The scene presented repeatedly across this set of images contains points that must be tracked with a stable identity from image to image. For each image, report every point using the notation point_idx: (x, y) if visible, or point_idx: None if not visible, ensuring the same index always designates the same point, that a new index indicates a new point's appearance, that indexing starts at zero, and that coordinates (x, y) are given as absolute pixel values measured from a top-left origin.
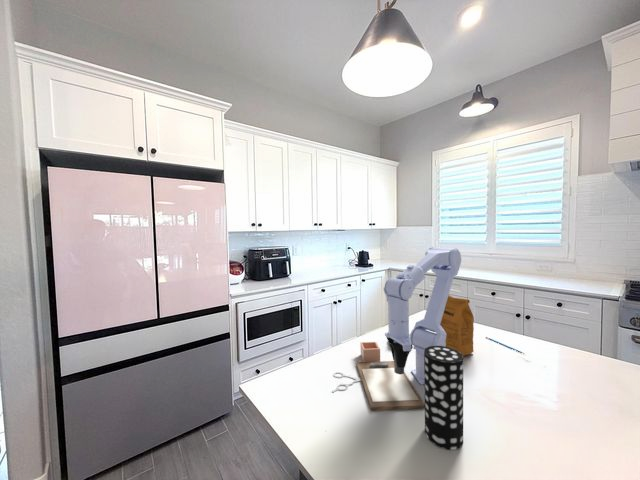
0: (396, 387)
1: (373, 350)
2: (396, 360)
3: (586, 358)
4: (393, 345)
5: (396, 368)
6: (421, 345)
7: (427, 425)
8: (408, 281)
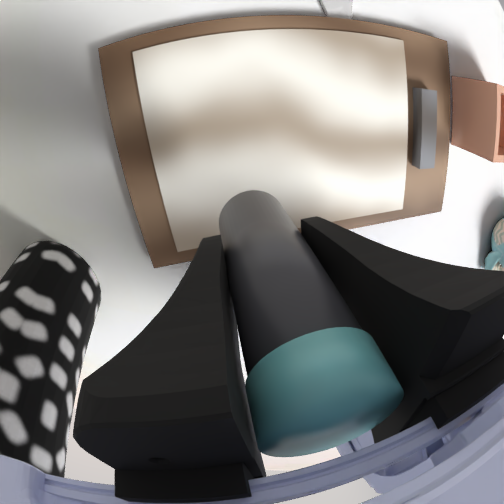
0: (258, 170)
1: (491, 129)
2: (195, 264)
3: (340, 455)
4: (110, 432)
5: (231, 217)
6: None
7: (13, 266)
8: None
